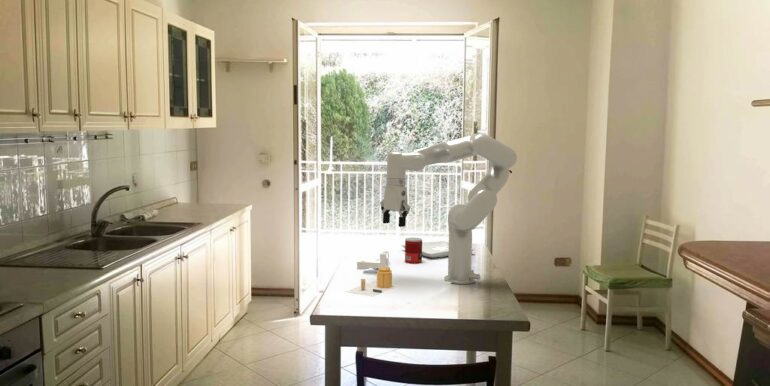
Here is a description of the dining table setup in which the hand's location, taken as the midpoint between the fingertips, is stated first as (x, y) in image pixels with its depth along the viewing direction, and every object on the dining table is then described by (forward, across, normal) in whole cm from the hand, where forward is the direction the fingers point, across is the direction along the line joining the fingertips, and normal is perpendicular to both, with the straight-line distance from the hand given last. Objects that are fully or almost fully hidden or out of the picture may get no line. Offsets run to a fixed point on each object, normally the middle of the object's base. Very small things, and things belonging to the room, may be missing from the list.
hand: (394, 224), depth 248 cm
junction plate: (+24, -7, +15) cm, 29 cm away
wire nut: (+22, -7, +10) cm, 25 cm away
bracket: (+24, +25, -10) cm, 37 cm away
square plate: (+23, +32, -58) cm, 70 cm away
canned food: (+23, +23, -34) cm, 47 cm away
